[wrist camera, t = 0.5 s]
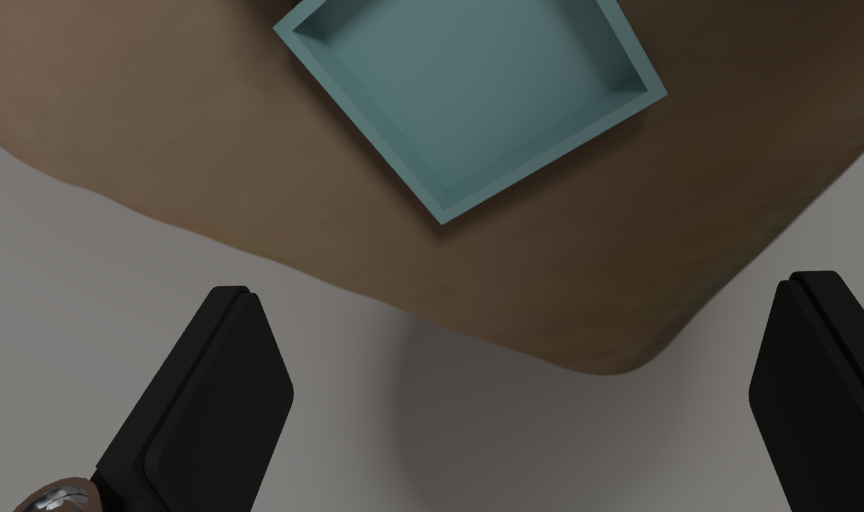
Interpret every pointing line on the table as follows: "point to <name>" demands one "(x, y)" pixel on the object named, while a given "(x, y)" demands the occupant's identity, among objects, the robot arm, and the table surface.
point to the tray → (473, 84)
